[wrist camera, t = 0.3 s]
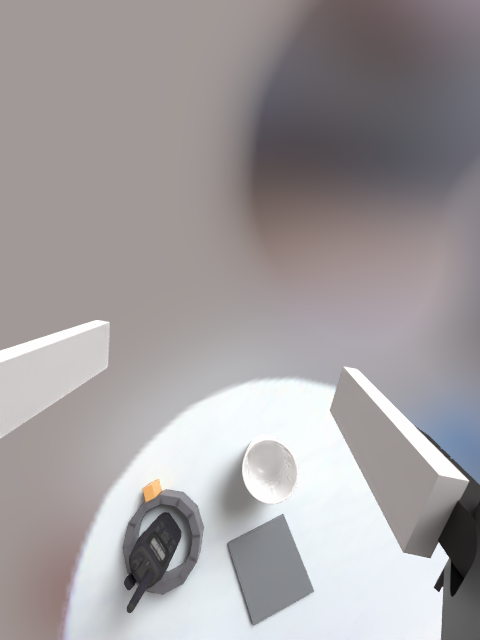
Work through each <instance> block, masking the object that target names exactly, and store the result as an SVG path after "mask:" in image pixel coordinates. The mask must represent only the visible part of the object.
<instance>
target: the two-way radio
mask: <svg viewBox="0 0 480 640" xmlns="http://www.w3.org/2000/svg"><path fill="white" fill-rule="evenodd" d="M180 538H181V530H180V528H179V526H178V525H177V523H176V522H175V520H174V519H173V518H172V516H171V515H170V514H169V513H167V512H164V513H162V514H161V515H160V516H158V518H157V519H156V520H155V521H154V522H153V523H152V524H151V525H150V527H149V528H148V529H147V530H146V531H145V532H144V533H143V534H142V535H141V536H140V537H139V539H138V540H137V541H136V544H135V546H134V548H133V550H132V552H131V554H130V556H129V565H130V569H131V572H130V574H129V575H128V576H127V577H126V579H125V581H124V584H125V587H126V588H127V590H131V588H132V587H133V586H134V585H135V583H136V582H138V584H139V586H138V588H137V589H136V591H135V593H134V595H133V597H132V599H131V600H130V602H129V604H128V606H127V612H128V613H131V612H132V611H133V610H134V608H135V607H136V605H137V603H138V602H139V600H140V599H141V597H142V595H143V594H144V592H145V590H146V589H148V588H150V587H152V586H154V585H155V584H156V583H157V582H158V581H160V580H161V578H162V577H163V575H164V573H165V572H166V570H167V568H168V566H169V562H170V560H171V558H172V556H173V554H174V552H175V550H176V548H177V546H178V543H179V541H180Z"/></svg>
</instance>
